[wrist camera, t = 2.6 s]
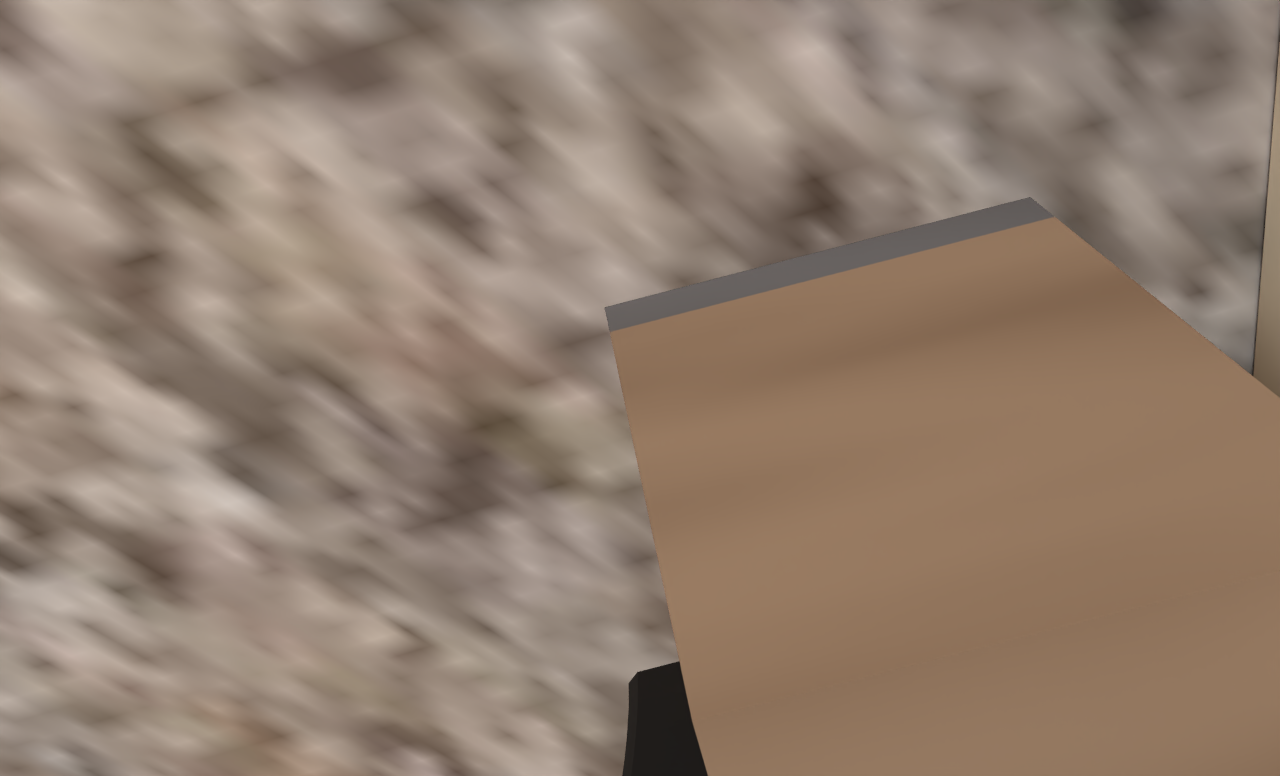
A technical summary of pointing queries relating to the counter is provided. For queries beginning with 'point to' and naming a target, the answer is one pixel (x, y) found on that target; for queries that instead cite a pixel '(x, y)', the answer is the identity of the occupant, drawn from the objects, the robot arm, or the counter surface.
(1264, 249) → the board
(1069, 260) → the sanding block
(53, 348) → the counter surface
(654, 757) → the robot arm
